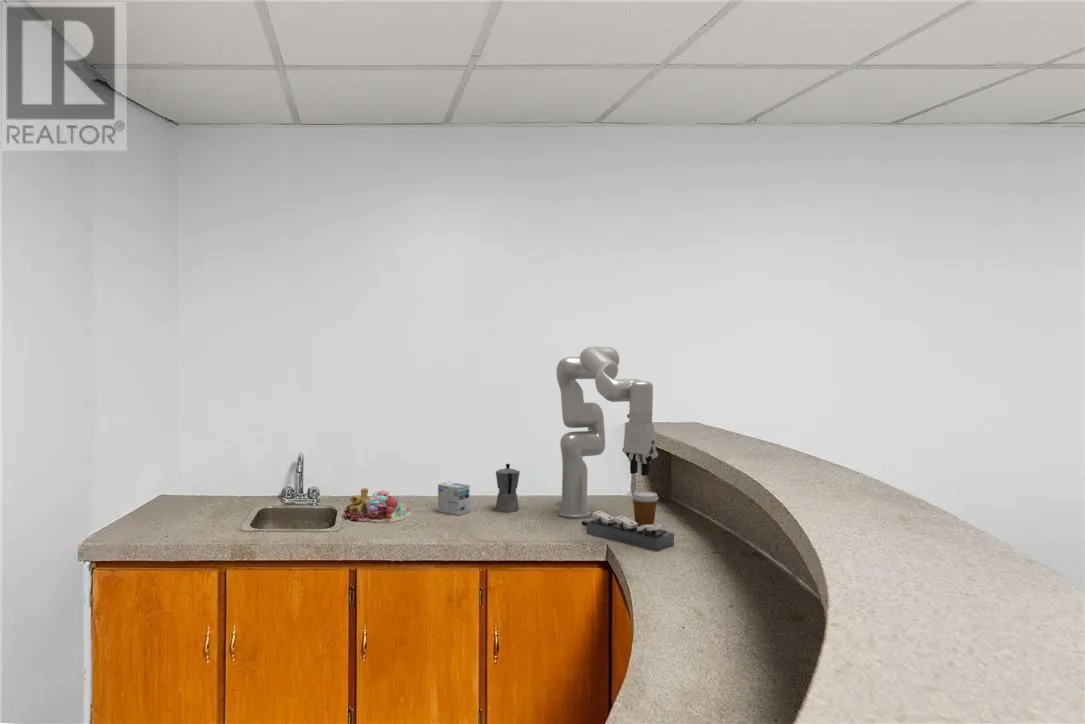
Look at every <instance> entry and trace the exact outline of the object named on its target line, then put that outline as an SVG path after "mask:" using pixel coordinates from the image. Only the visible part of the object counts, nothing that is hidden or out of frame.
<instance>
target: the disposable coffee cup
mask: <svg viewBox="0 0 1085 724" xmlns="http://www.w3.org/2000/svg"><path fill="white" fill-rule="evenodd" d="M631 498H632V504H633V516H634V522H636V523H638V524H640V525H655V516H656V510H657V503H658V500H659V496H658V494H657V493H656V492H655V491H654V492H653V491H647V490H646V491H644V490H642V491H641V490H639V491H633V492H632V495H631Z"/></svg>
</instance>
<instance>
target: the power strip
mask: <svg viewBox="0 0 1085 724" xmlns="http://www.w3.org/2000/svg"><path fill="white" fill-rule="evenodd" d="M581 526H583V527H586V534H588V535H591V536H596V537H599V538H603V539H606V540H610V541H614V542H619V543H622V544H626V545H629V546H634V547H638V548H642V549H644V550H645V549H646V550H650V551H654V552H659V551H661V550H664V549H667V547H668V548H670V547H674V545H675V532H670V531H667V530H665V529H662V528H661V529H658V530H645V529H642V531H637V527H635V528H632V529H629V528H627V527H625V526H624V525H623V524H620V523H618V522H616V521H615V522H611V523H606V522H604V521H602V520H601V519H599V518H596V519H592V520H589V521H584V520H582V521H581ZM638 526H642V525H640V524H638Z"/></svg>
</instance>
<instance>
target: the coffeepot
mask: <svg viewBox="0 0 1085 724" xmlns="http://www.w3.org/2000/svg"><path fill="white" fill-rule="evenodd" d="M510 466H511V464H510V463H506V464H505V468H502V469H497V470H496V471H495V477H496V483H497V484H496V485H497V489H498V494H497V499H496V502H495V503H496V504H495V509H494V510H496V511H497V512H500V513H515V512H517V511H519V509H520V506H519V500H518V493H517V488H518V486H519V485H518V484H519V477H520V473H521V472H520V470H517V469H515V468H510Z"/></svg>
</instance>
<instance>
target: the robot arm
mask: <svg viewBox="0 0 1085 724" xmlns="http://www.w3.org/2000/svg"><path fill="white" fill-rule="evenodd" d="M619 364H620V356H619V353H618V351H617V349H615V348H614V347H611V346H589V347H586V348H584V349H583V350H582V351H581V352H580V356H569V357H564V358H562V359H561V360H560V361H559V362H558V363H557V366H556V371H555V372H556V380H557V384H558V387H559V390H560V398H561V399H560V400H561V401H560V402H561V413H562V414H561V415H562V422H563V425H564V426H565V427H566V428H569V429H579V428H583V429H584V428H587V430H585V431H583V430H580V431H578V430H577V431H569V432H566V433H564V434H563V435H562V436H561V438H560V442H559V445H560V452H561V459H562V465H561V467H562V471H561V472H562V473H561V474H562V480H561V482H562V483H561V484H562V486H561V499H558V500H556V502H555V503H554V505H555V506H556V507H559V509H558V510H557V515H558V516H560V517H563V518H568V519H582V518H583V519H584V518H588V517H590V516H591V515H592V514H591V510H590V509H588V507H587V506H588V466H587V464H586V462H585V461H584V459H583V457H592V456H593V457H594V456H600V455H601V454H603V453H604V451H605V448H606V435H605V433H606V431H605V420H604V412H603V409H602V408H601V406H600V405H599V404H598V403H596V402H585V400H584V391H583V389H582V387H581V385H580V383H578V381H577V380H594V381H595V382H594V383H595V389H596V391H597V393H599V395H600V396H602V397H603V398H604V399H605V400H607V401H609V402H612V403H618V402H619V403H620V402H623V403H624V402H629V405H628V406H629V410H628V411H629V413H628V414H627V415H626V417H627V419H628V421H627V422H626V424H625V425H626V426H625V430H624V435H623V436H624V437H623V448H622V450H621V451H622V452H623V453H624V455H626V457H627V458H628V462H629V473H630V474H631V475H633V474H637V473H638V469H639V468H638V467H639V466H638V465H639V464H638V463H639V462H638V460H637V457H638V455H642V463H641V469H640V470H641V471H640V473H641V474H640V475H641V476H642V477H643V476H648V475H649V473H650V463H651V462H652V461H653V460H654V459H655V458H657V457H658V456H659V453H658V451H657V449H656V431H655V425H654V423H653V400H654V398H653V397H654V395H653V394H654V385H653V383H652V382H650V381H647V380H646V381H644V380H640V379H637V378H631V379H630V378H621V379H620V378H616V377H617V376H618V372H619Z"/></svg>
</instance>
